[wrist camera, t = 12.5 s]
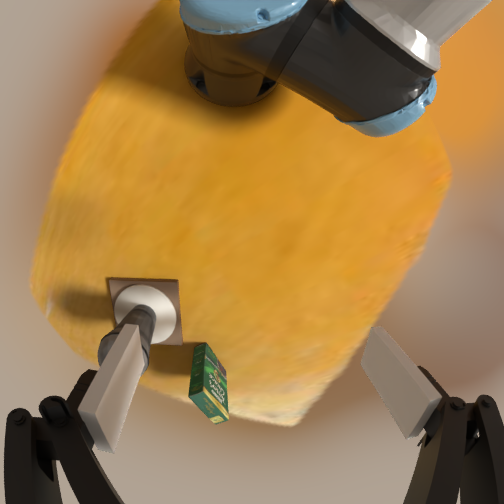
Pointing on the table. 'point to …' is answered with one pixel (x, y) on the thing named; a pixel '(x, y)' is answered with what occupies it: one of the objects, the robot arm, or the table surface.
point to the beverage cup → (146, 324)
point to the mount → (150, 305)
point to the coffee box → (209, 384)
